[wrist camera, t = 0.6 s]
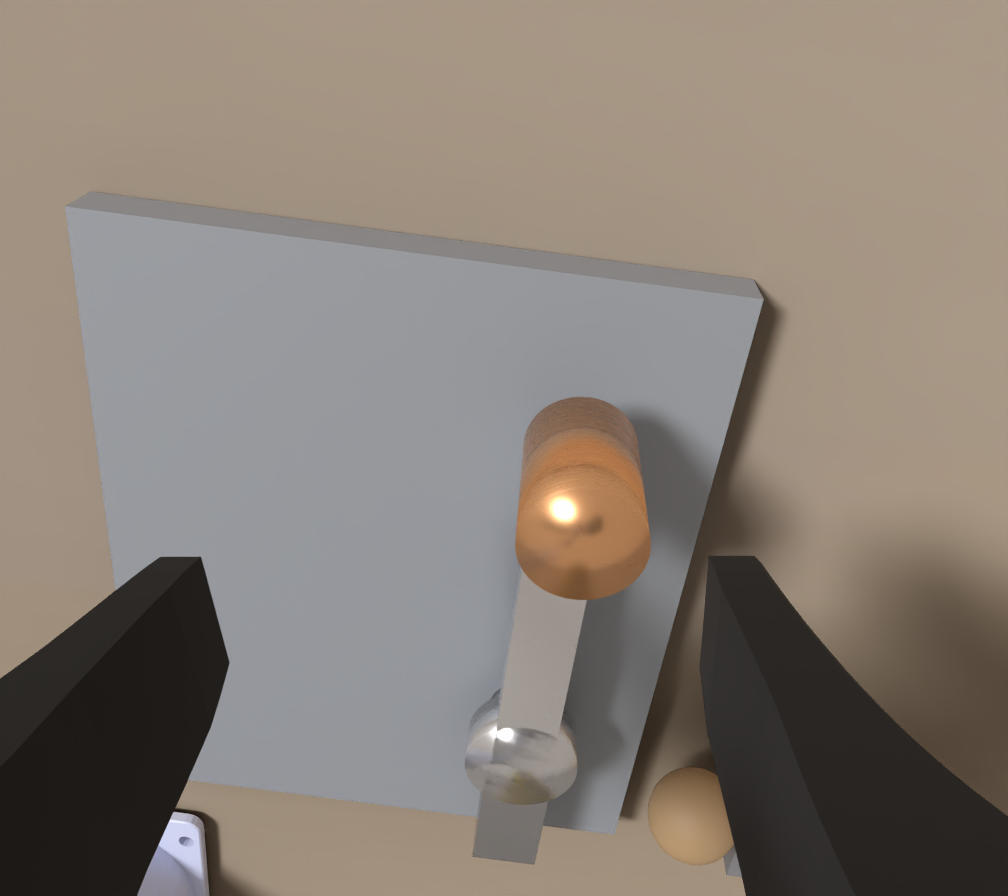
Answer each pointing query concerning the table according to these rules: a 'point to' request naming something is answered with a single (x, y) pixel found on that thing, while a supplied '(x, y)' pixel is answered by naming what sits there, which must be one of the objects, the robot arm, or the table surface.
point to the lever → (554, 612)
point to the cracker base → (395, 483)
